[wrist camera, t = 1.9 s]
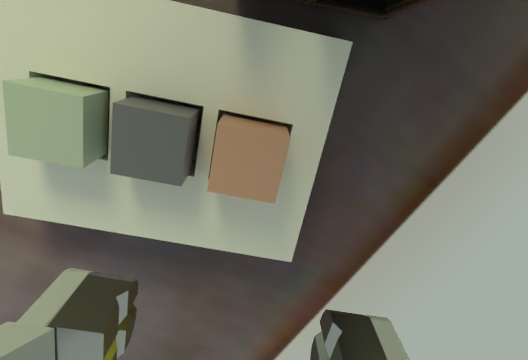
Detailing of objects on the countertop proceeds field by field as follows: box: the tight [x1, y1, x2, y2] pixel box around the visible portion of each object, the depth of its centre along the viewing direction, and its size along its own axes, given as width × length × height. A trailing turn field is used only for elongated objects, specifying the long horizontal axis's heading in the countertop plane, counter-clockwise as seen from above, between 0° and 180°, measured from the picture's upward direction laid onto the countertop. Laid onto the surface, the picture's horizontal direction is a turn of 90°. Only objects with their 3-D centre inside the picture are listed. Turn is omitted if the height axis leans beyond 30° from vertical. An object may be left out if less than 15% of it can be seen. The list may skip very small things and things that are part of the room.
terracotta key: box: [207, 114, 291, 204], centre depth 20 cm, size 4×4×3 cm
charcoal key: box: [110, 96, 200, 186], centre depth 19 cm, size 4×4×3 cm
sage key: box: [2, 77, 109, 168], centre depth 19 cm, size 4×4×3 cm
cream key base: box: [0, 0, 353, 262], centre depth 22 cm, size 15×20×4 cm
